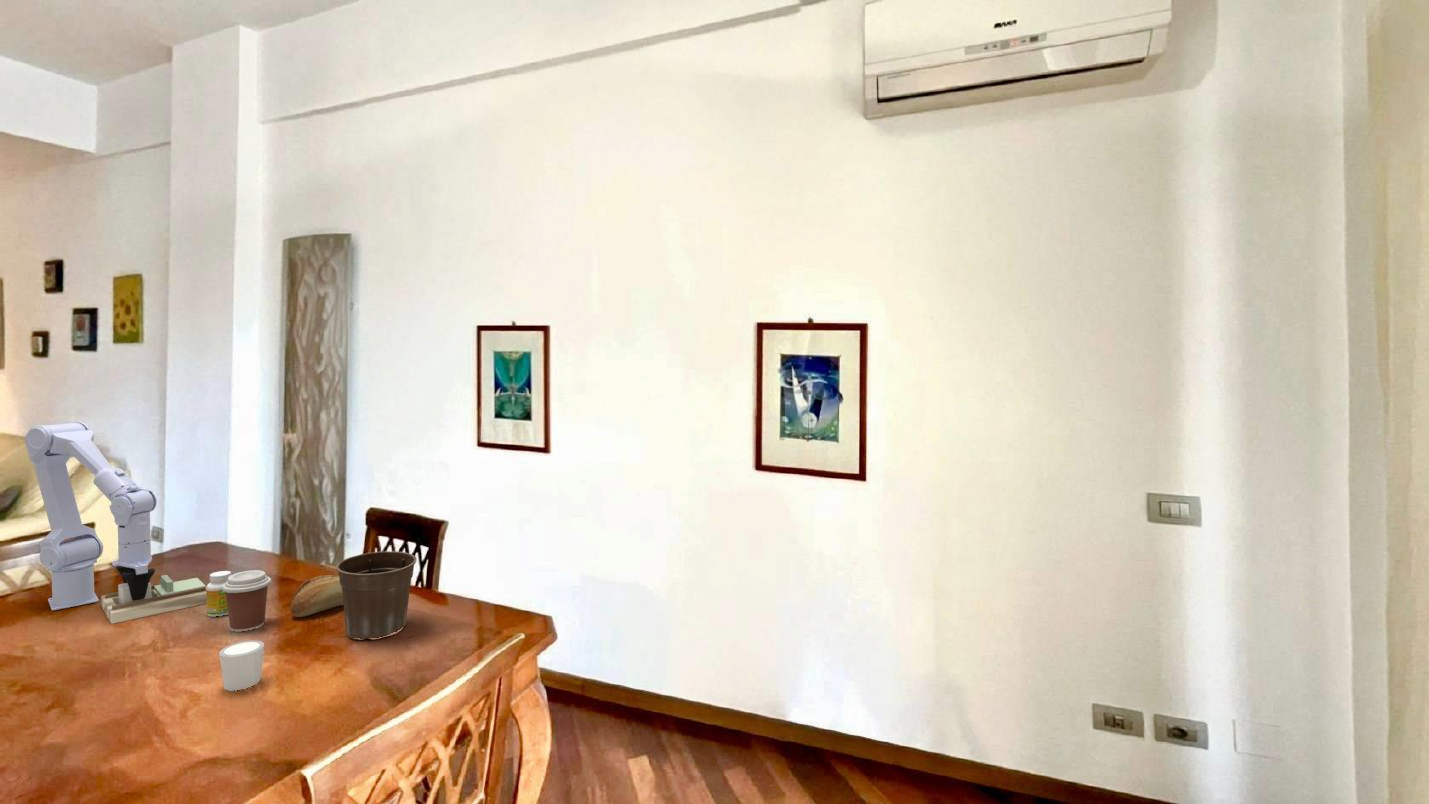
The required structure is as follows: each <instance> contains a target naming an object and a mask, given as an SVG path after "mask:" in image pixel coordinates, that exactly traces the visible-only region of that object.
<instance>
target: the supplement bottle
mask: <svg viewBox="0 0 1429 804" xmlns="http://www.w3.org/2000/svg"><path fill="white" fill-rule="evenodd" d="M231 575H232V571H229V570H220V571H216V572H215V571H214V572H212V573H210V574H209V581H210V582H209V583H207V585H206V598H207V603H206V616H208V617H211V618H215V617H216V616H219V617H224V616H223V615H225V616H227V615H228V608H227V600H226V592H223V591H222V585H223V584H224V583H226V582H227V578H228V577H229V576H231Z"/></svg>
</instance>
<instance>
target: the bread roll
mask: <svg viewBox="0 0 1429 804" xmlns="http://www.w3.org/2000/svg"><path fill="white" fill-rule="evenodd" d="M342 604H344V603H343V593H342V586H341V585H340V579H339V575H336V574H326V575H320V576H315V577H313V578H310V579H307V580H306V581H304V582H302V583H301V584H300V585H299V586H298V588H297V589H296V591H295V593H294V594H293V597H292V600H291V606H290V612H291V615H293V616H294V617H295V618H304V617H308V616H311V615H314V614H317V613H321V612H323V611H327V610H331V609H334V608H337V607H340V606H339V605H341V606H343V605H342ZM336 606H337V607H336ZM333 607H334V608H333ZM320 611H321V612H320Z"/></svg>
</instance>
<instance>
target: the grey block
mask: <svg viewBox="0 0 1429 804" xmlns="http://www.w3.org/2000/svg"><path fill="white" fill-rule="evenodd" d="M151 586H152V583H150V581H149V584H148V588H147V592H146V596H145V598H144V599H148V598H151ZM117 592H118V593H119V604H123V603H128V602H133V600H132V598H131V594H130V590H129V586H128V583H124V582H123V583H119V584H118V588H117ZM140 600H143V599H140ZM135 601H138V600H135Z"/></svg>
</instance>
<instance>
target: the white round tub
mask: <svg viewBox="0 0 1429 804" xmlns="http://www.w3.org/2000/svg"><path fill="white" fill-rule="evenodd" d="M264 648H265V643H264V642H263V641H261V640H245V641H244V640H243V641H240V642H235V643H232V644H229V645H227V646H225V647H224V648H222V649H221V650H220V651H219V653H218V654H219V655H218V656H219V661H220V667H221V668H220V669H221V674H222V683H223V690H225V689H226V690H225V691H227V690H228V691H227V692H237V690H240V689H244V690H247V689H246V688H248V687H250V688H252V687H251V686H253V685H254V684H256V685H258V684H259V683H260V682H259V680H260V679H262V670H263V662H264V661H263V659H264V650H265V649H264ZM258 682H259V683H258ZM257 683H258V684H257ZM253 687H254V686H253ZM248 689H249V688H248ZM234 690H235V691H234ZM240 691H241V690H240Z"/></svg>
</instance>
